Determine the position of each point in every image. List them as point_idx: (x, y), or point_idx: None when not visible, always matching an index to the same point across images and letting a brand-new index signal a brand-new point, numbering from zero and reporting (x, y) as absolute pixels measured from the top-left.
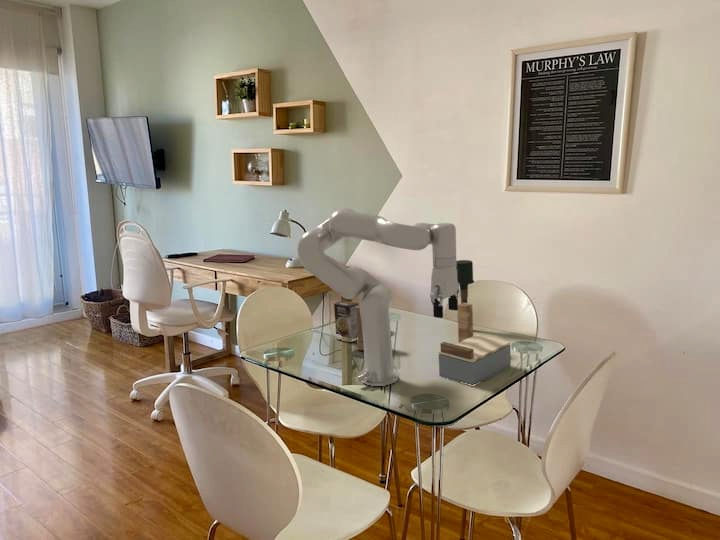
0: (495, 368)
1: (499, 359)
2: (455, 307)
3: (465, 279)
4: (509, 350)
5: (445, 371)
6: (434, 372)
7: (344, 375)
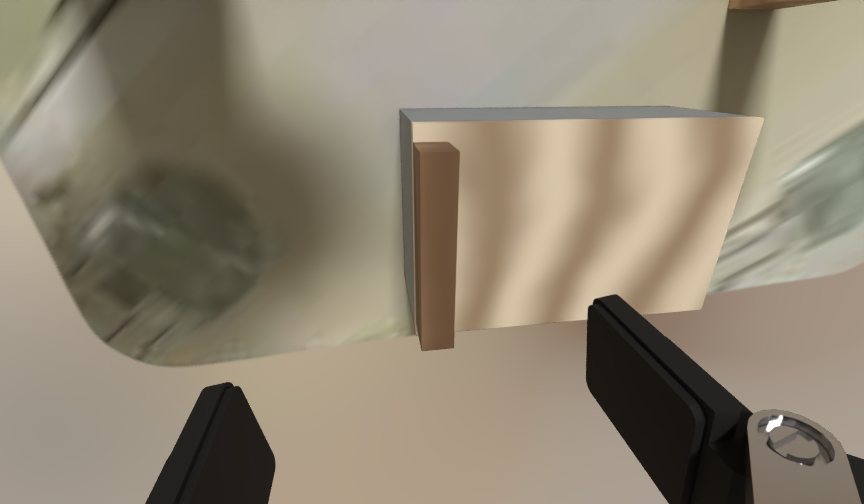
0: None
1: None
2: (604, 401)
3: None
4: None
5: (403, 151)
6: (422, 54)
7: None
